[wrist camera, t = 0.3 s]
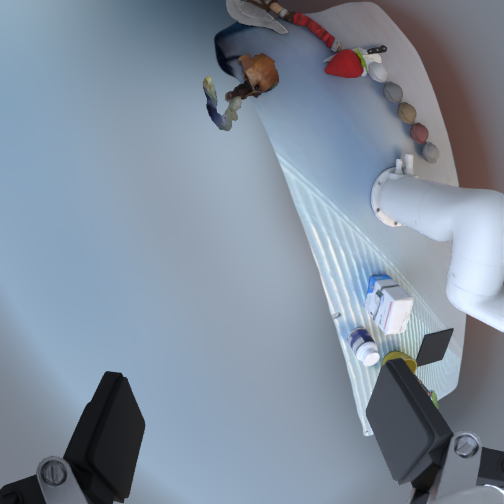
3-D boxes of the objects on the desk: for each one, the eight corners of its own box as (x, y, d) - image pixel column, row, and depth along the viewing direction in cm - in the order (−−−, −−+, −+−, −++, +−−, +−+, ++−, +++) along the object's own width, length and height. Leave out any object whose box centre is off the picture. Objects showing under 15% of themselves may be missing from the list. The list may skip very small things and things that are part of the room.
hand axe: (357, 31, 38) (244, -29, 33) (328, 70, 43) (213, 9, 38) (352, 35, 42) (246, -22, 36) (324, 72, 46) (217, 14, 41)
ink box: (370, 275, 59) (394, 299, 48) (388, 274, 60) (414, 297, 49) (363, 308, 62) (384, 336, 51) (381, 307, 63) (404, 333, 51)
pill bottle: (370, 332, 65) (386, 356, 56) (355, 347, 66) (369, 371, 57) (358, 323, 64) (374, 346, 54) (343, 338, 65) (356, 363, 56)
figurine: (201, 106, 51) (237, 145, 49) (177, 90, 43) (215, 131, 41) (255, 57, 46) (298, 91, 44) (238, 33, 38) (287, 67, 36)
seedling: (421, 391, 83) (435, 386, 78) (426, 407, 80) (440, 403, 76) (415, 400, 78) (431, 396, 74) (420, 417, 76) (436, 413, 71)
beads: (359, 70, 43) (372, 62, 40) (369, 62, 44) (381, 55, 40) (424, 168, 51) (438, 166, 47) (431, 156, 52) (445, 154, 48)
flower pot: (377, 348, 67) (388, 364, 60) (408, 340, 67) (420, 355, 60) (372, 374, 70) (381, 391, 63) (401, 366, 70) (412, 381, 64)
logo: (376, 50, 43) (343, 51, 44) (378, 49, 43) (345, 49, 43) (385, 77, 45) (352, 78, 46) (387, 76, 45) (354, 78, 45)
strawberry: (337, 86, 48) (381, 72, 42) (325, 84, 43) (375, 67, 36) (325, 62, 46) (369, 46, 40) (312, 57, 41) (361, 38, 35)
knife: (319, 57, 45) (324, 64, 45) (320, 55, 44) (324, 62, 44) (383, 44, 41) (387, 51, 41) (383, 43, 41) (388, 50, 41)
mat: (424, 335, 67) (425, 336, 67) (452, 328, 68) (453, 329, 67) (413, 366, 71) (414, 367, 70) (441, 358, 72) (442, 359, 71)
